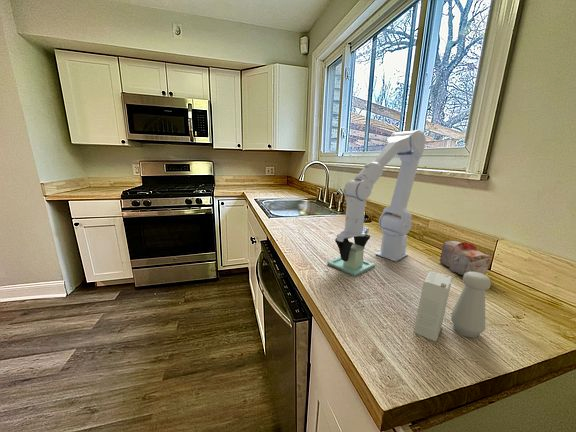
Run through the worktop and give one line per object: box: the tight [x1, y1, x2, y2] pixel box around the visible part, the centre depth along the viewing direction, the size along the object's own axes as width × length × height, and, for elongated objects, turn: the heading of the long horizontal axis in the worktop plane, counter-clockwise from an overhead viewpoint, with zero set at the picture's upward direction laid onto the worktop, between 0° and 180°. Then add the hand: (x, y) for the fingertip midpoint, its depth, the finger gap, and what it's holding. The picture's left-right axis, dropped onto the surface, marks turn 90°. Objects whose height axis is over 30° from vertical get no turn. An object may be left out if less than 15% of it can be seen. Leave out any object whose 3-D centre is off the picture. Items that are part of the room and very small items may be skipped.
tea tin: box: [343, 242, 366, 270], centre depth 78 cm, size 5×5×7 cm
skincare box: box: [413, 271, 453, 342], centre depth 48 cm, size 6×4×12 cm
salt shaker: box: [450, 272, 492, 339], centre depth 48 cm, size 6×6×13 cm
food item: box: [439, 240, 492, 277], centre depth 75 cm, size 14×8×10 cm, turn 5°
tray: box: [326, 256, 376, 278], centre depth 79 cm, size 11×11×1 cm
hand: (351, 257), depth 79 cm, fingers open, 7 cm apart
